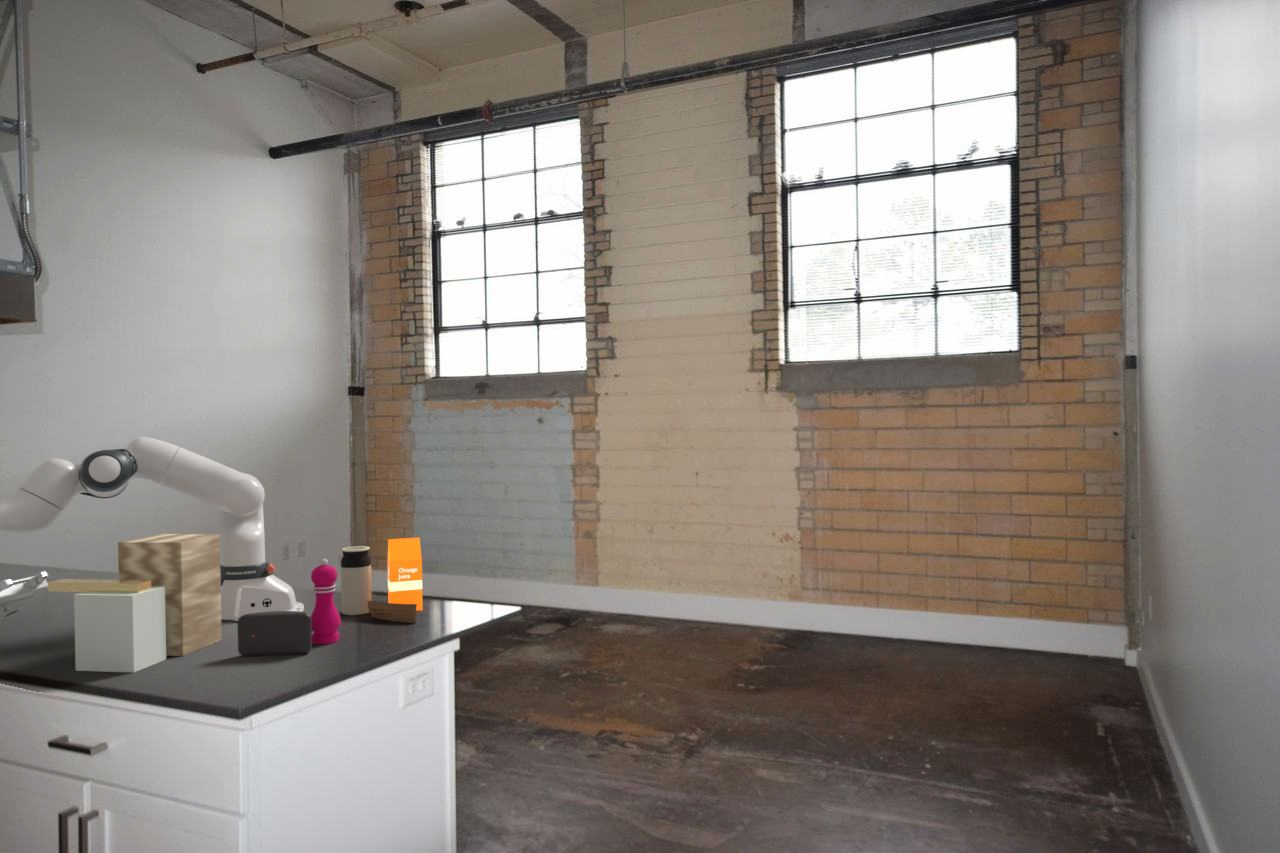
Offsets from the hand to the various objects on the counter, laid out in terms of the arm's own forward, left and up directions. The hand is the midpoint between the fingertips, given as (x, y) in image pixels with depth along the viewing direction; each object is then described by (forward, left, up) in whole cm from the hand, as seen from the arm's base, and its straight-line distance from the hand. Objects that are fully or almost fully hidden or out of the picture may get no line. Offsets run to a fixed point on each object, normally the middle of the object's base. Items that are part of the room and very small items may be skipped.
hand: (27, 577), depth 192 cm
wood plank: (-80, -6, -19) cm, 82 cm away
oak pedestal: (-28, -1, -19) cm, 34 cm away
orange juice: (-84, -19, -19) cm, 89 cm away
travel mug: (-71, -20, -19) cm, 77 cm away
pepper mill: (-62, +9, -19) cm, 66 cm away
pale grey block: (-20, +12, -19) cm, 30 cm away
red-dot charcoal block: (-51, +17, -19) cm, 57 cm away
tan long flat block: (-16, +9, -3) cm, 18 cm away
